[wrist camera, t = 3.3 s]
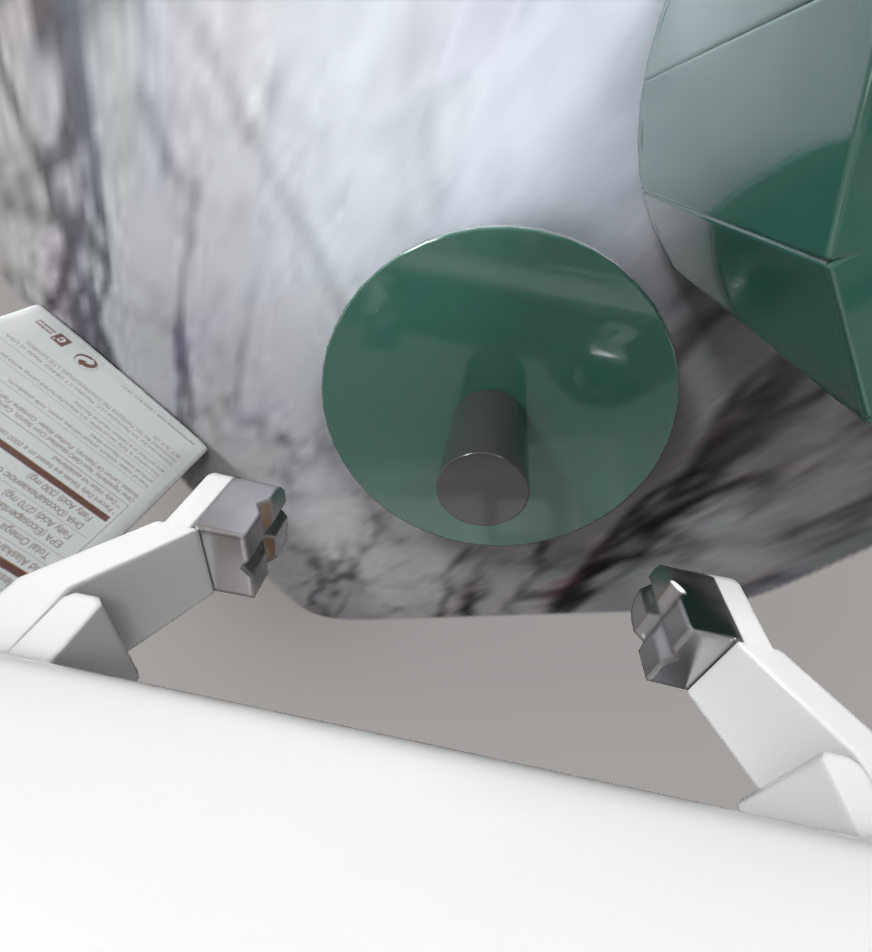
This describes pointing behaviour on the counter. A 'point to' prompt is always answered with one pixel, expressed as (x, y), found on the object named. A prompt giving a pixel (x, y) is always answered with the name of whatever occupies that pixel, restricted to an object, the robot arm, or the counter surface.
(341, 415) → the lid
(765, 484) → the counter surface
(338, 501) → the counter surface
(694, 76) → the tin
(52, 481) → the white packaging box
